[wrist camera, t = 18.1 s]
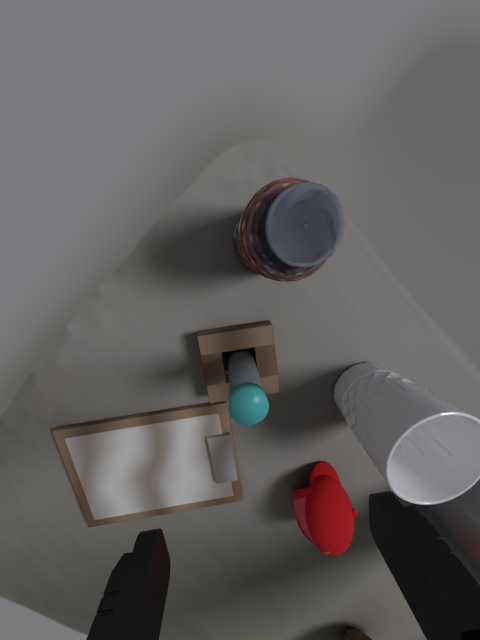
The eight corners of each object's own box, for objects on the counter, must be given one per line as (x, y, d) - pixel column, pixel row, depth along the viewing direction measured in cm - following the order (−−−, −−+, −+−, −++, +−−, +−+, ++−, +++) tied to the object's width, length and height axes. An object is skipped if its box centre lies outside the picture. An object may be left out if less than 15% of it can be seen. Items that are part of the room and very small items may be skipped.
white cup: (331, 356, 26) (396, 413, 16) (402, 356, 27) (506, 411, 17) (324, 421, 28) (378, 508, 18) (390, 420, 28) (477, 502, 19)
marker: (252, 343, 25) (267, 387, 16) (254, 367, 26) (270, 422, 17) (225, 346, 25) (226, 391, 16) (228, 370, 26) (231, 427, 17)
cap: (349, 544, 28) (385, 540, 24) (307, 565, 26) (339, 565, 22) (316, 467, 33) (341, 453, 29) (278, 479, 31) (300, 466, 27)
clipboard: (226, 399, 26) (226, 405, 25) (242, 495, 29) (243, 504, 28) (56, 427, 26) (48, 434, 25) (91, 522, 29) (86, 532, 28)
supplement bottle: (219, 242, 23) (217, 226, 12) (265, 191, 22) (308, 122, 11) (265, 287, 24) (302, 310, 13) (309, 240, 23) (389, 222, 12)
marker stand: (268, 320, 25) (272, 324, 23) (275, 383, 26) (279, 392, 24) (199, 330, 24) (197, 336, 23) (210, 393, 26) (210, 403, 24)
